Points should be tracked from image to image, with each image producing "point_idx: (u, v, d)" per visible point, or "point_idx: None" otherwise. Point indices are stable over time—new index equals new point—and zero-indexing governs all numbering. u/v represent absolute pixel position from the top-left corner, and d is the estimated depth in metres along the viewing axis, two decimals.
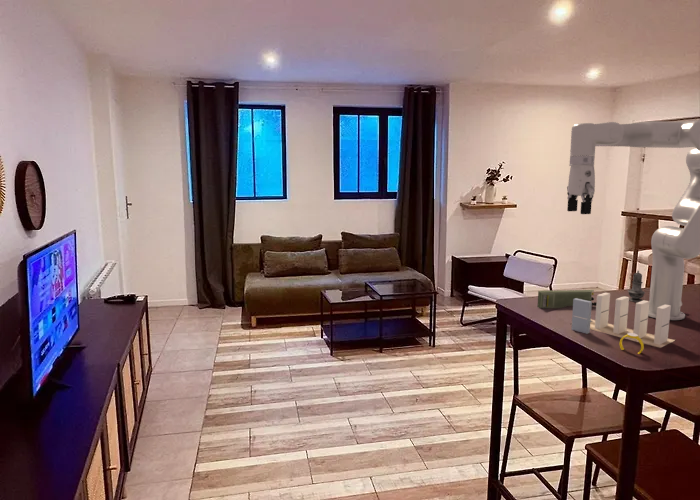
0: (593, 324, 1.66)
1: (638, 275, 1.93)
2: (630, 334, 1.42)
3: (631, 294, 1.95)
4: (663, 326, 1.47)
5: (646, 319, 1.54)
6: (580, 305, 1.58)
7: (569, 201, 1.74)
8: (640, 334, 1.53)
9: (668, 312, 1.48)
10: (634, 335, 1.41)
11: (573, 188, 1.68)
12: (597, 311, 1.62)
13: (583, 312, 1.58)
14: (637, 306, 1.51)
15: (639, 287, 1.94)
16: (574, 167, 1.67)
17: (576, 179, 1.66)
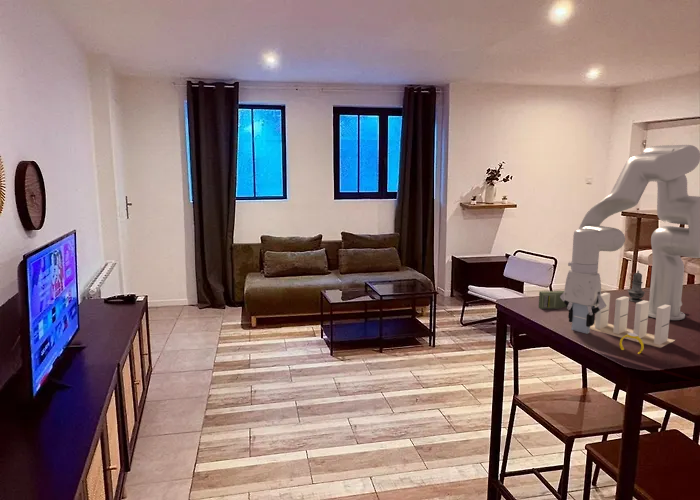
0: (593, 324, 1.66)
1: (638, 275, 1.93)
2: (630, 334, 1.42)
3: (631, 294, 1.95)
4: (663, 326, 1.47)
5: (646, 319, 1.54)
6: (580, 305, 1.58)
7: None
8: (640, 334, 1.53)
9: (668, 312, 1.48)
10: (634, 335, 1.41)
11: None
12: None
13: (583, 312, 1.58)
14: (637, 306, 1.51)
15: (639, 287, 1.94)
16: None
17: None
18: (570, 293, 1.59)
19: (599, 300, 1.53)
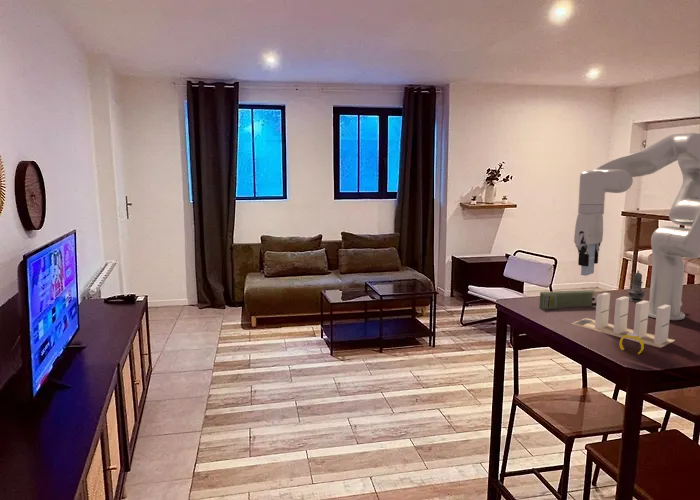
0: (593, 324, 1.66)
1: (638, 275, 1.93)
2: (630, 334, 1.42)
3: (631, 294, 1.95)
4: (663, 326, 1.47)
5: (646, 319, 1.54)
6: None
7: None
8: (640, 334, 1.53)
9: (668, 312, 1.48)
10: (634, 335, 1.41)
11: (596, 237, 1.61)
12: (597, 311, 1.62)
13: None
14: (637, 306, 1.51)
15: (639, 287, 1.94)
16: (598, 215, 1.60)
17: (600, 227, 1.62)
18: None
19: None
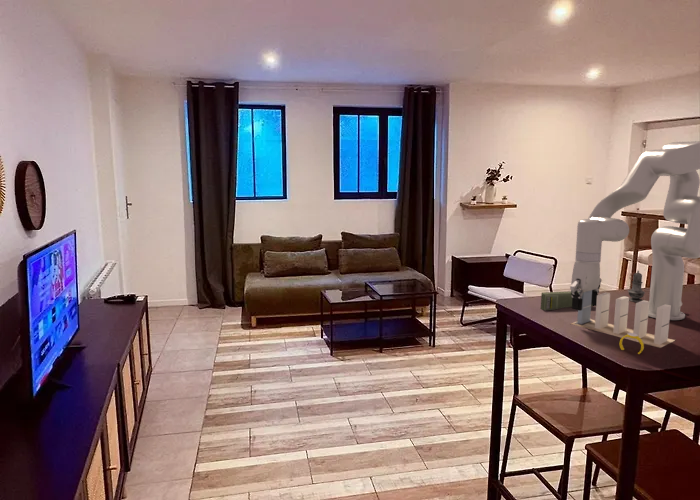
0: (593, 324, 1.66)
1: (638, 275, 1.93)
2: (630, 334, 1.42)
3: (631, 294, 1.95)
4: (663, 326, 1.47)
5: (646, 319, 1.54)
6: None
7: None
8: (640, 334, 1.53)
9: (668, 312, 1.48)
10: (634, 335, 1.41)
11: (593, 284, 1.65)
12: (597, 311, 1.62)
13: None
14: (637, 306, 1.51)
15: (639, 287, 1.94)
16: (595, 263, 1.63)
17: (597, 274, 1.65)
18: None
19: None
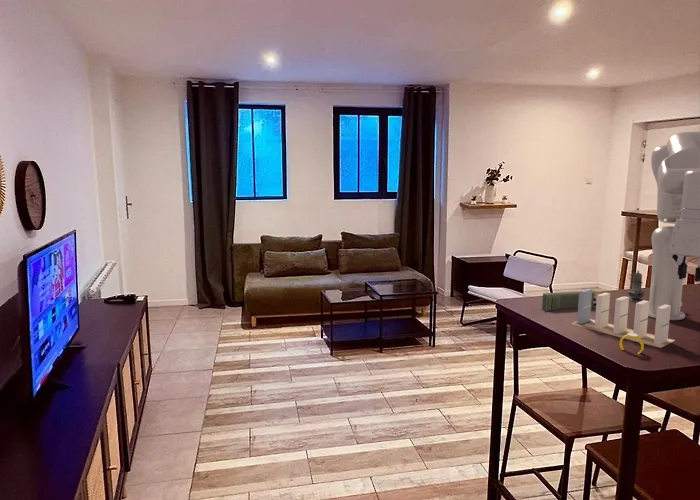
0: (593, 324, 1.66)
1: (638, 275, 1.93)
2: (630, 334, 1.42)
3: (631, 294, 1.95)
4: (663, 326, 1.47)
5: (646, 319, 1.54)
6: None
7: None
8: (640, 334, 1.53)
9: (668, 312, 1.48)
10: (634, 335, 1.41)
11: None
12: (597, 311, 1.62)
13: None
14: (637, 306, 1.51)
15: (639, 287, 1.94)
16: None
17: None
18: (679, 244, 1.40)
19: None
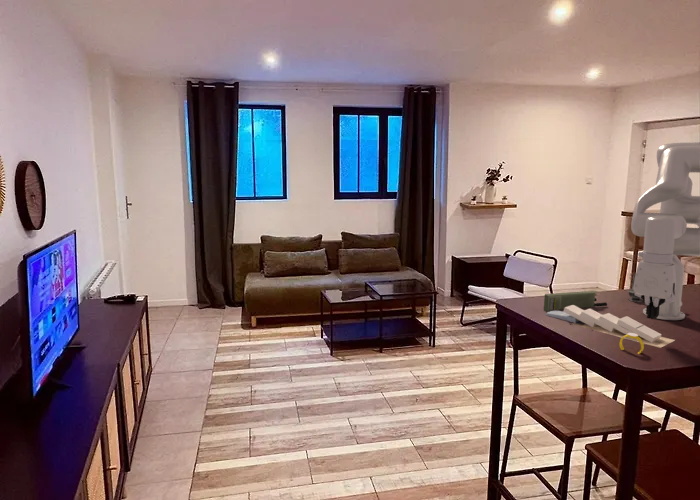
0: None
1: None
2: (630, 334, 1.42)
3: (631, 294, 1.95)
4: (638, 327, 1.53)
5: None
6: None
7: None
8: None
9: (630, 319, 1.57)
10: (634, 335, 1.41)
11: None
12: (577, 317, 1.67)
13: None
14: (602, 320, 1.61)
15: None
16: None
17: None
18: (641, 285, 1.49)
19: None
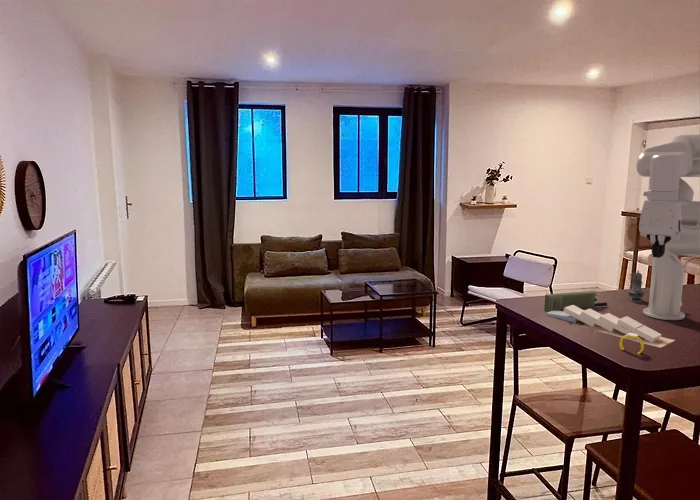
0: None
1: (638, 275, 1.93)
2: (630, 334, 1.42)
3: (631, 294, 1.95)
4: (638, 327, 1.53)
5: None
6: None
7: None
8: None
9: (630, 319, 1.57)
10: (634, 335, 1.41)
11: None
12: (577, 317, 1.67)
13: None
14: (602, 320, 1.61)
15: (639, 287, 1.94)
16: None
17: None
18: (647, 224, 1.50)
19: None
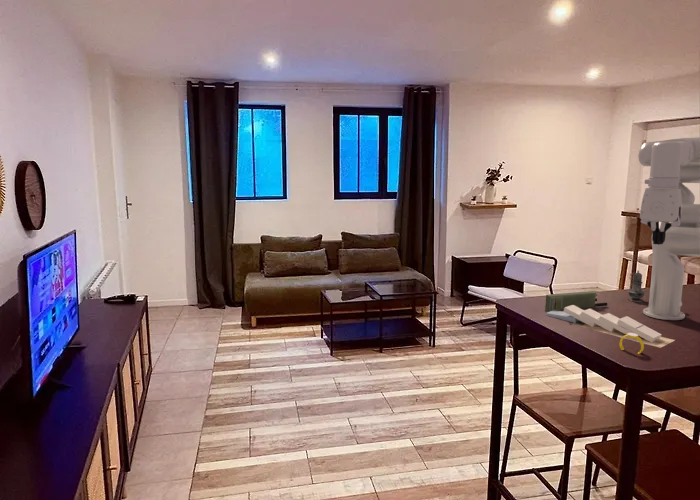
0: None
1: (638, 275, 1.93)
2: (630, 334, 1.42)
3: (631, 294, 1.95)
4: (638, 327, 1.53)
5: None
6: None
7: None
8: None
9: (630, 319, 1.57)
10: (634, 335, 1.41)
11: None
12: (577, 317, 1.67)
13: None
14: (602, 320, 1.61)
15: (639, 287, 1.94)
16: None
17: None
18: (647, 211, 1.52)
19: None
